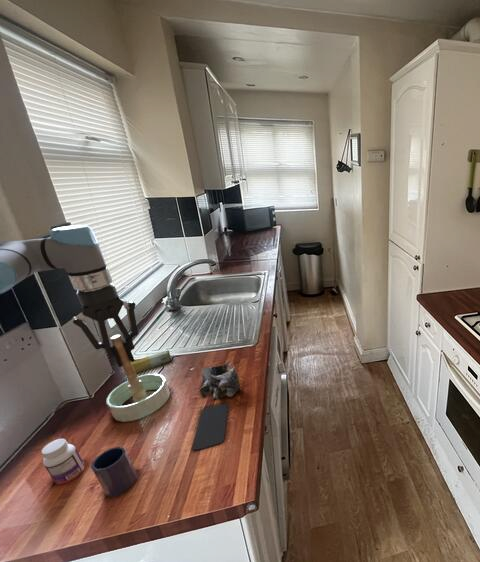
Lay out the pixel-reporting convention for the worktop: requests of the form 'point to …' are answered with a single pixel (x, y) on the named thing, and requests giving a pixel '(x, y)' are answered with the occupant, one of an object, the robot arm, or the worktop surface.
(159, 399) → the bowl
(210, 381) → the grey sculpted pot
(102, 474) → the utensil pot
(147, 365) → the medication box
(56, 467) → the pill bottle
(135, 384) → the stirring paddle
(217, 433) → the phone
